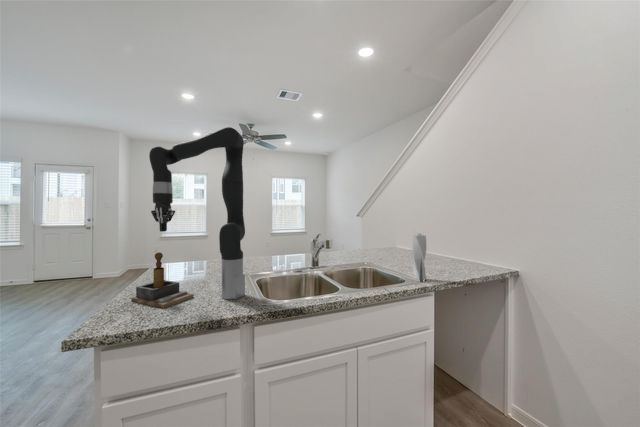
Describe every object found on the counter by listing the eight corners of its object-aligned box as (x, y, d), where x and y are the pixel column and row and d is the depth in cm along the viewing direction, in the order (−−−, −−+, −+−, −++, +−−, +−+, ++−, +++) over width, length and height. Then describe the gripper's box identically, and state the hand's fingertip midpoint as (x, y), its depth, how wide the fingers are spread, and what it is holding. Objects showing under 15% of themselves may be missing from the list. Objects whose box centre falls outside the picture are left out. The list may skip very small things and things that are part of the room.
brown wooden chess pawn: (158, 296, 107) (158, 254, 107) (145, 295, 108) (145, 253, 108) (171, 291, 113) (170, 251, 113) (158, 290, 115) (158, 251, 115)
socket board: (193, 297, 112) (193, 283, 112) (163, 308, 99) (163, 293, 99) (162, 291, 120) (162, 279, 120) (131, 301, 107) (131, 287, 107)
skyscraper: (408, 279, 144) (408, 230, 144) (416, 277, 149) (416, 230, 148) (421, 282, 137) (422, 231, 137) (429, 280, 142) (430, 230, 142)
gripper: (180, 192, 114) (181, 231, 114) (160, 193, 119) (161, 230, 119) (165, 191, 107) (165, 232, 107) (144, 192, 112) (144, 231, 112)
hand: (163, 231), depth 113 cm, fingers closed
